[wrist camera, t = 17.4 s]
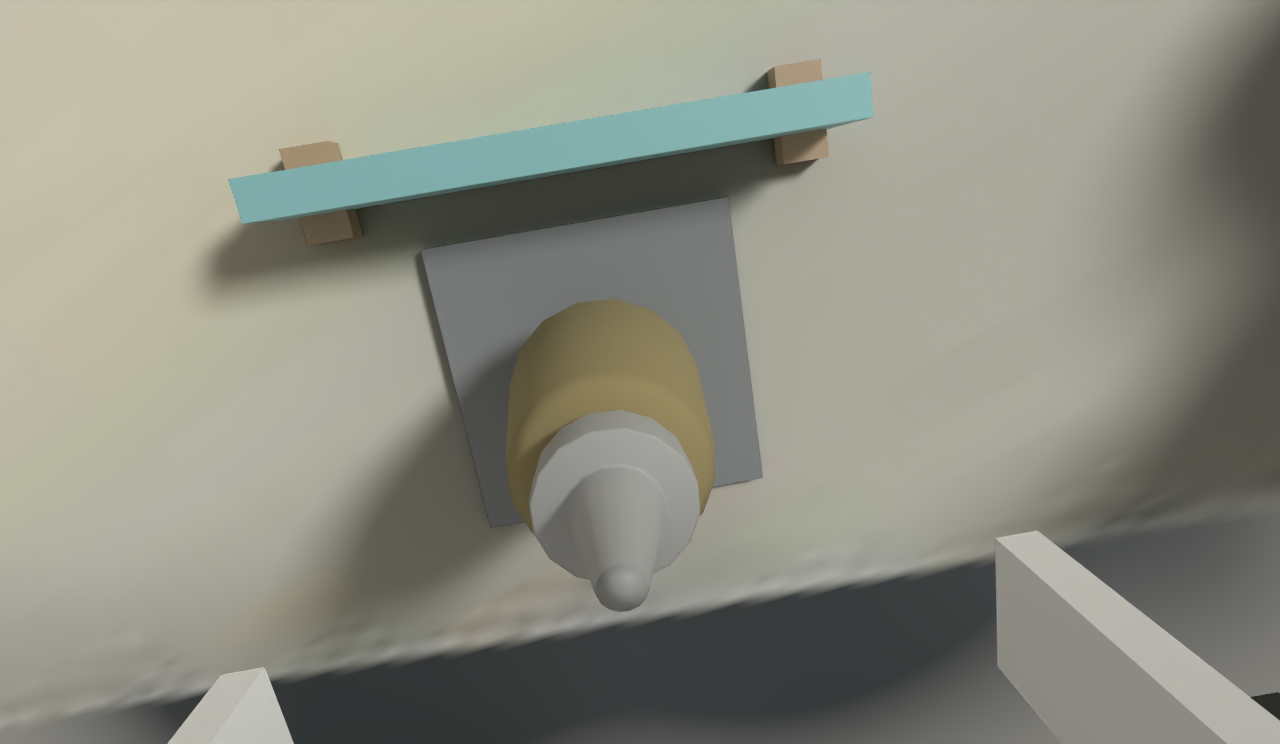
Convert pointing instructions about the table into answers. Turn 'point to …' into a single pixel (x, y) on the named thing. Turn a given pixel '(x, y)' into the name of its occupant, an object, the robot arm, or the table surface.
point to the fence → (552, 151)
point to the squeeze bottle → (609, 445)
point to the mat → (591, 271)
